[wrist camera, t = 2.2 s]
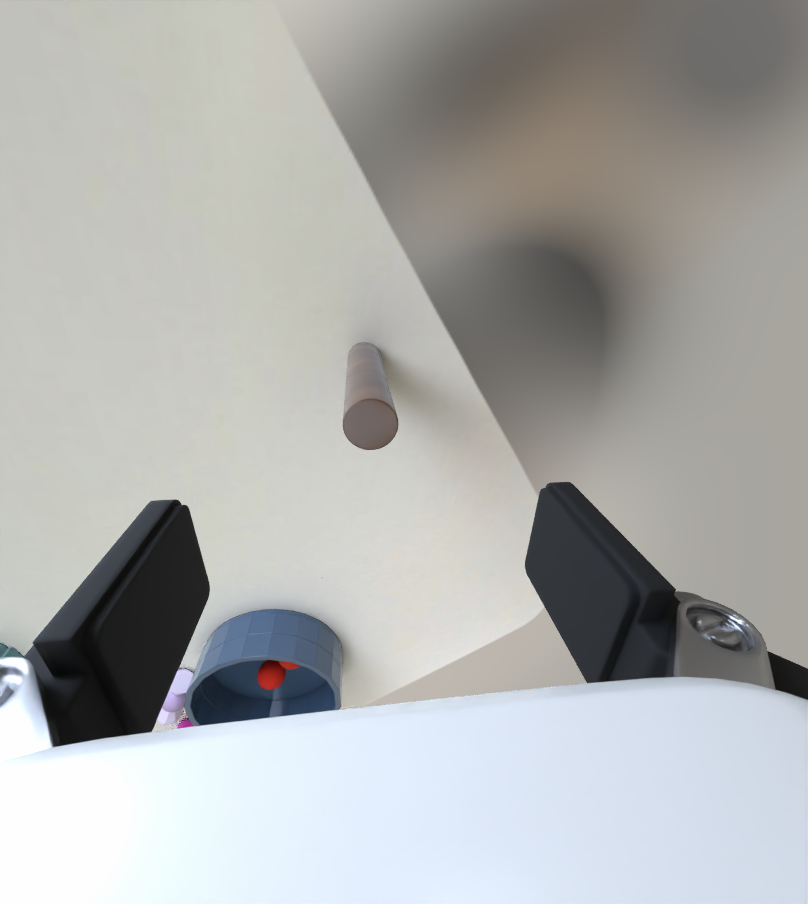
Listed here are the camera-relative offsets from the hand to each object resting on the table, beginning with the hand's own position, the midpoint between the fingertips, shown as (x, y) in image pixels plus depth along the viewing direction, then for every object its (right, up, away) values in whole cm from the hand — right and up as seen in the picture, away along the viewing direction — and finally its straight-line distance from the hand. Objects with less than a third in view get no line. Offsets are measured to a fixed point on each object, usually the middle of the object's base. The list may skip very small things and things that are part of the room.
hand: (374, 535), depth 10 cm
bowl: (-14, -21, +34) cm, 42 cm away
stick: (-2, +10, +20) cm, 23 cm away
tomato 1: (-14, -22, +32) cm, 41 cm away
